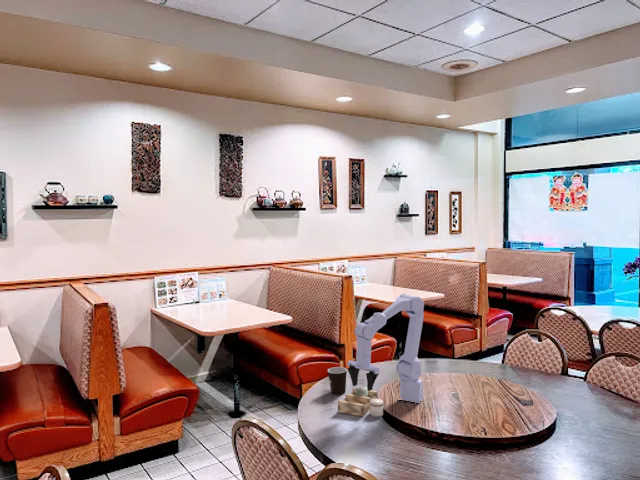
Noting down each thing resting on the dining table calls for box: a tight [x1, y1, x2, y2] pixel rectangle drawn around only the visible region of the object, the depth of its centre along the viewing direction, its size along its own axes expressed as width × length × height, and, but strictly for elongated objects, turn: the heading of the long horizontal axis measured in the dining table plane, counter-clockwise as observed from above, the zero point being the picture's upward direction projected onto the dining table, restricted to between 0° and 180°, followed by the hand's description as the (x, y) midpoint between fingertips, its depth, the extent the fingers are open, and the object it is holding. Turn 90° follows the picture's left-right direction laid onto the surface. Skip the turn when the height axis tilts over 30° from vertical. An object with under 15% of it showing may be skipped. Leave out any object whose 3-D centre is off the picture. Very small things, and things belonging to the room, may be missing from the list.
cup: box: [369, 398, 384, 418], centre depth 195 cm, size 5×5×6 cm
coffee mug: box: [327, 366, 348, 396], centre depth 222 cm, size 12×9×10 cm
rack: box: [337, 385, 379, 417], centre depth 204 cm, size 11×17×6 cm, turn 154°
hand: (362, 387), depth 196 cm, fingers open, 7 cm apart
